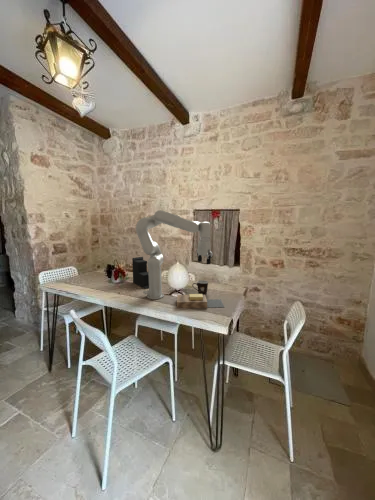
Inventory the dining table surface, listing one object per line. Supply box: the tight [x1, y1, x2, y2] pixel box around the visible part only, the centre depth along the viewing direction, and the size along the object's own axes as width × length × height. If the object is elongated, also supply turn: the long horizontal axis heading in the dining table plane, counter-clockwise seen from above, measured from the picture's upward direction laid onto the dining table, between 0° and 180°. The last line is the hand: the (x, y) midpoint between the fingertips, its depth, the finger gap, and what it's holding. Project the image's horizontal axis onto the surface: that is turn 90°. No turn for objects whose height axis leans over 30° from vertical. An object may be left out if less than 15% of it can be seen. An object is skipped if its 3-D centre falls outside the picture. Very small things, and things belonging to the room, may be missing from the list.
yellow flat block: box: [188, 293, 203, 300], centre depth 151 cm, size 9×6×2 cm, turn 91°
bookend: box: [131, 256, 149, 290], centre depth 194 cm, size 23×11×24 cm, turn 39°
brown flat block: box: [176, 294, 208, 309], centre depth 151 cm, size 20×14×4 cm
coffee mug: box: [191, 279, 209, 296], centre depth 171 cm, size 12×9×10 cm
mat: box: [207, 298, 225, 309], centre depth 152 cm, size 11×14×1 cm
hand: (204, 262), depth 158 cm, fingers open, 9 cm apart
